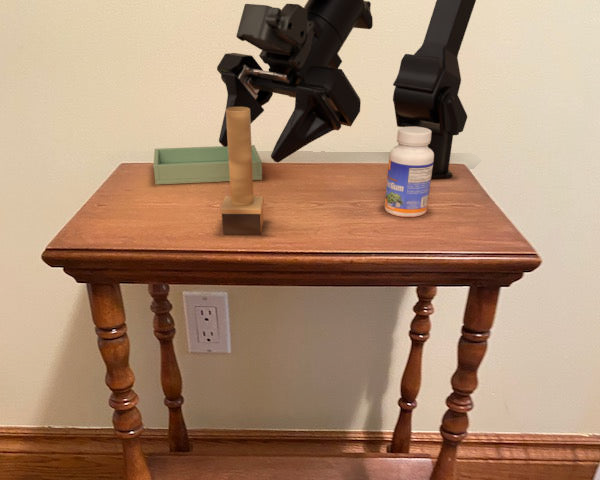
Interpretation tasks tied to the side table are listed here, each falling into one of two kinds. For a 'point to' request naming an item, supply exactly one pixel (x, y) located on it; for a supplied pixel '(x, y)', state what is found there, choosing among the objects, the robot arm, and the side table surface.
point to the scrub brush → (241, 178)
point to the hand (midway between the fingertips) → (246, 151)
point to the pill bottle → (409, 173)
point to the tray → (197, 165)
